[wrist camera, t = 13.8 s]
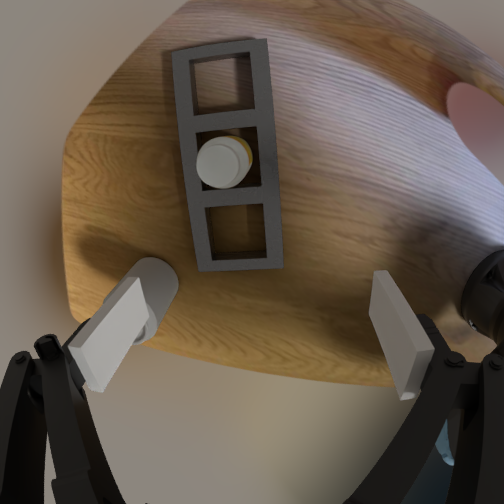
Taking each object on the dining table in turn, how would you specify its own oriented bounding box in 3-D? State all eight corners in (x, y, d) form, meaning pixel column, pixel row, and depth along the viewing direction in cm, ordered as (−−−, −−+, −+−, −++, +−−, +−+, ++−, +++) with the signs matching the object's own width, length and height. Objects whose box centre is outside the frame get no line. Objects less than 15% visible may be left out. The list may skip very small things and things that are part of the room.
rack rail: (267, 43, 30) (266, 38, 28) (283, 259, 41) (283, 268, 38) (177, 56, 31) (171, 52, 29) (202, 263, 42) (198, 271, 40)
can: (185, 265, 42) (157, 314, 31) (174, 306, 45) (148, 358, 34) (138, 247, 42) (97, 288, 31) (130, 288, 45) (95, 335, 34)
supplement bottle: (245, 183, 37) (235, 202, 28) (204, 170, 37) (182, 185, 28) (259, 142, 35) (254, 148, 26) (217, 129, 35) (198, 131, 26)
